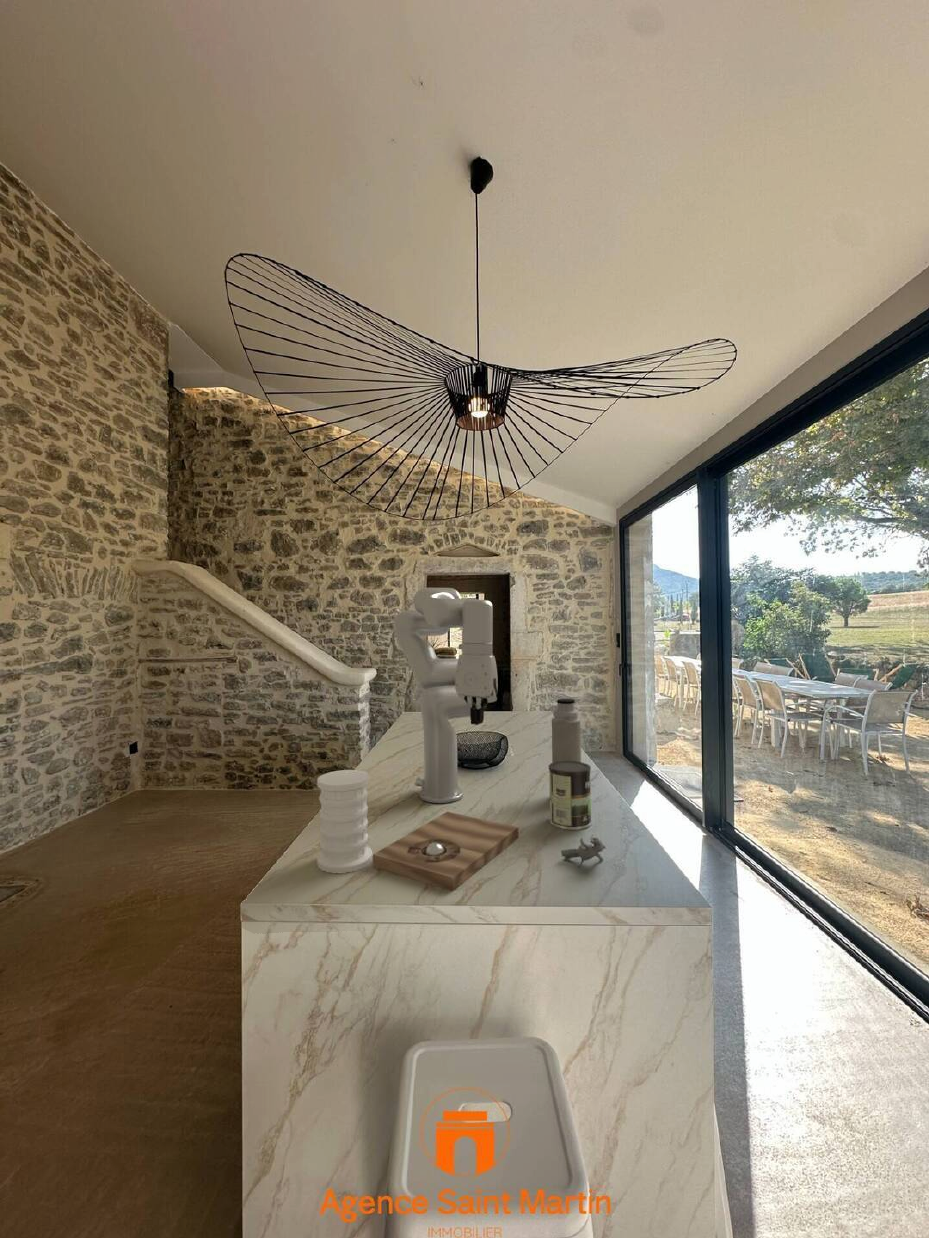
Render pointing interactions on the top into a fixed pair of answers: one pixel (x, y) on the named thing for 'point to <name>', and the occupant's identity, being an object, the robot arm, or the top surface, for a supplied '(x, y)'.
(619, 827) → the top surface
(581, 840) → the grey toy figure
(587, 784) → the coffee can
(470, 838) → the deck
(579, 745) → the thermos bottle
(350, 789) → the decorative container
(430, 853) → the ball
